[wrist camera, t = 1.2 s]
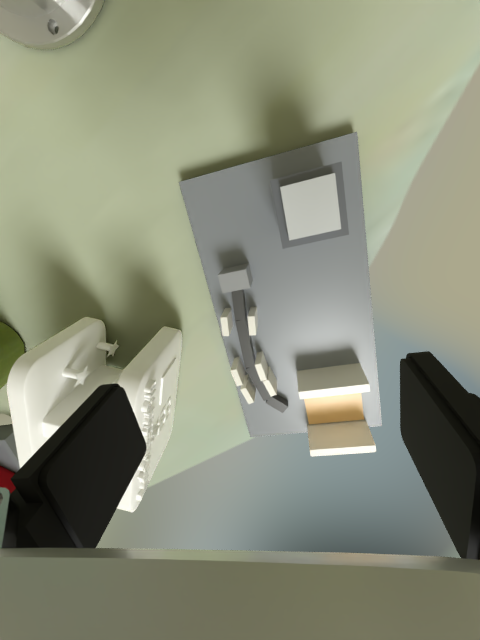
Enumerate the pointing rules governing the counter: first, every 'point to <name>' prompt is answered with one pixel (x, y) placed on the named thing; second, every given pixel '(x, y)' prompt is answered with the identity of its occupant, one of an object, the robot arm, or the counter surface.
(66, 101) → the counter surface
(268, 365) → the board
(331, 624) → the robot arm
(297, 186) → the block
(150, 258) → the counter surface
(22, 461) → the cable organizer
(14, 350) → the plant pot
